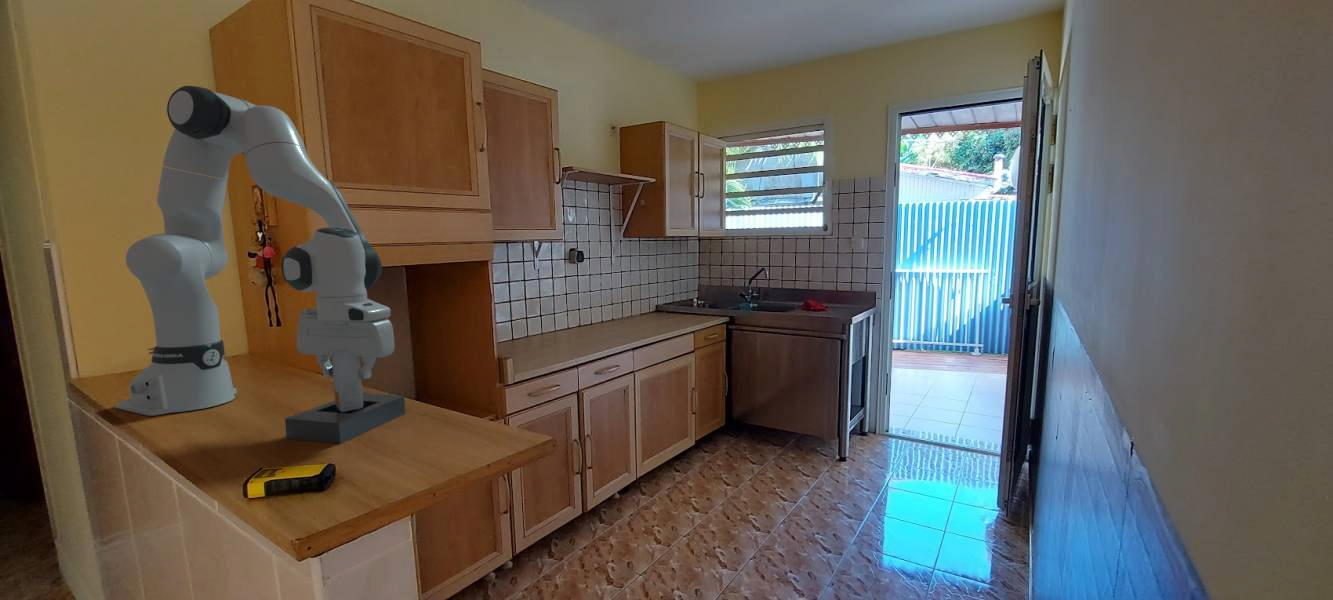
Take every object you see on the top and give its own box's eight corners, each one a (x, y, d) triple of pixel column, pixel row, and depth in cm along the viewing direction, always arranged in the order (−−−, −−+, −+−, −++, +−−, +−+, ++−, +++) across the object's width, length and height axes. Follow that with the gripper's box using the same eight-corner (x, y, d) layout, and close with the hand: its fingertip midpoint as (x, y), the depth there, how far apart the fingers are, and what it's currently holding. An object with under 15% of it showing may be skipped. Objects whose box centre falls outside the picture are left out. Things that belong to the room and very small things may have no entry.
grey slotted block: (286, 438, 103) (284, 418, 103) (357, 409, 121) (356, 392, 120) (340, 443, 101) (338, 423, 100) (405, 413, 118) (404, 395, 118)
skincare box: (334, 405, 112) (330, 348, 110) (358, 401, 114) (353, 345, 113) (340, 412, 107) (335, 353, 105) (364, 408, 110) (360, 350, 108)
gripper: (285, 310, 107) (290, 377, 109) (375, 313, 103) (379, 383, 105) (312, 306, 113) (316, 370, 115) (397, 308, 109) (401, 375, 111)
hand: (347, 376), depth 110 cm, fingers closed on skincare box, 7 cm apart
